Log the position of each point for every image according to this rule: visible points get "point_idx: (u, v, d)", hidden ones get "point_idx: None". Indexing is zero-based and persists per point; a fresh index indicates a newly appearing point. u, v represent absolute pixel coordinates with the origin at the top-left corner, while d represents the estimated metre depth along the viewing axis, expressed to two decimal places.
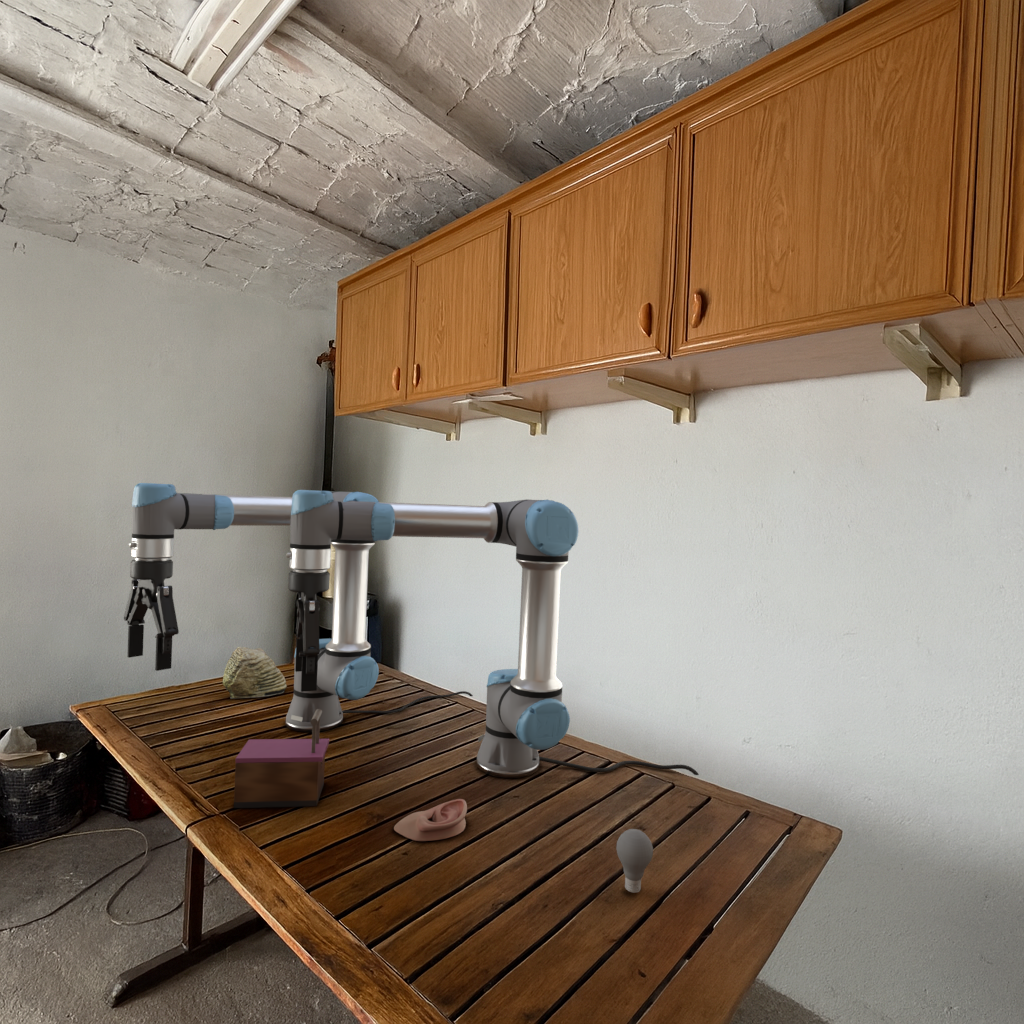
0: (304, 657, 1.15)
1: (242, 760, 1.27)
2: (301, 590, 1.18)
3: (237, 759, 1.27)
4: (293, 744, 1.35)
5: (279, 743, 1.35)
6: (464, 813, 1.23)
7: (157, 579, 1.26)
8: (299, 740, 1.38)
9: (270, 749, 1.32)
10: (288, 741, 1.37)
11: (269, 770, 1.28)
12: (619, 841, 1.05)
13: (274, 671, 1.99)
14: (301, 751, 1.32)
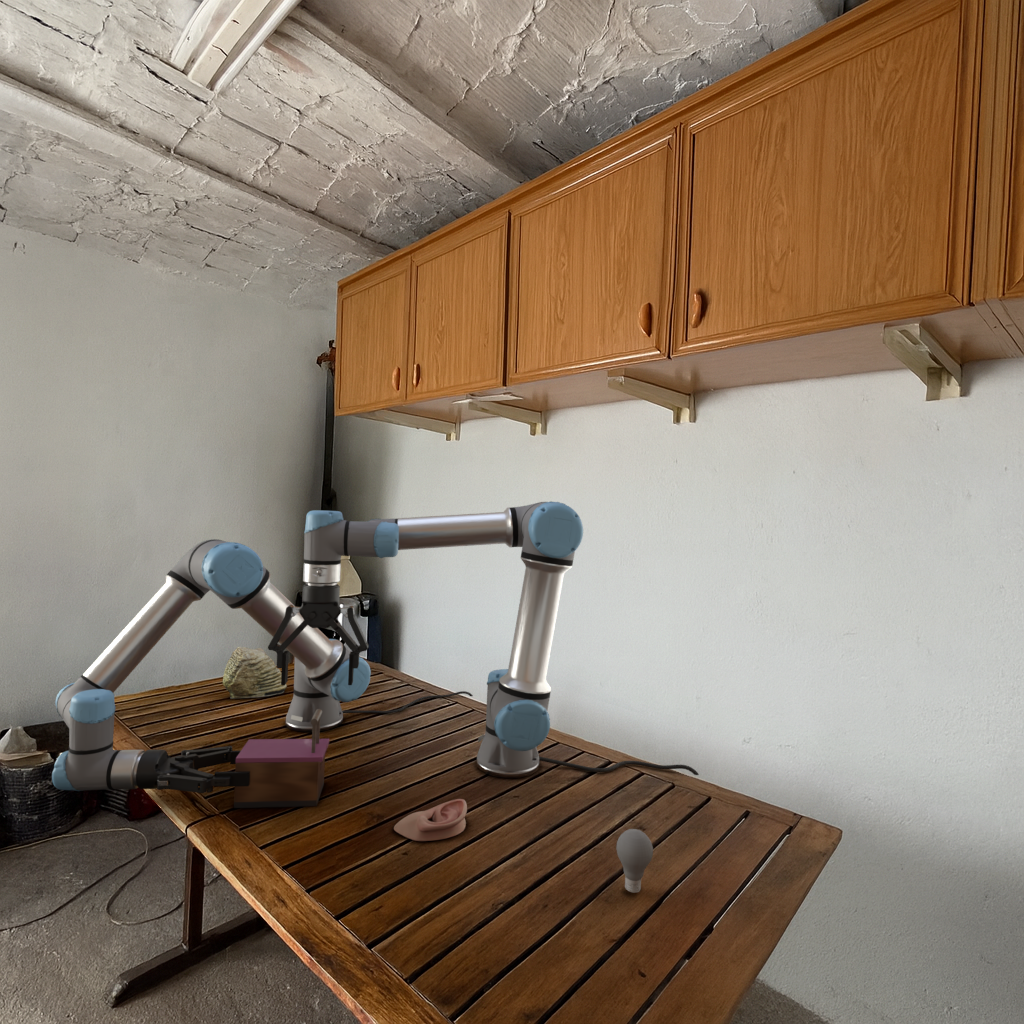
0: (353, 655, 1.34)
1: (242, 760, 1.27)
2: (336, 600, 1.33)
3: (237, 759, 1.27)
4: (293, 744, 1.35)
5: (279, 743, 1.35)
6: (464, 813, 1.23)
7: (154, 778, 1.26)
8: (299, 740, 1.38)
9: (270, 749, 1.32)
10: (288, 741, 1.37)
11: (269, 770, 1.28)
12: (619, 841, 1.05)
13: (274, 671, 1.99)
14: (301, 751, 1.32)
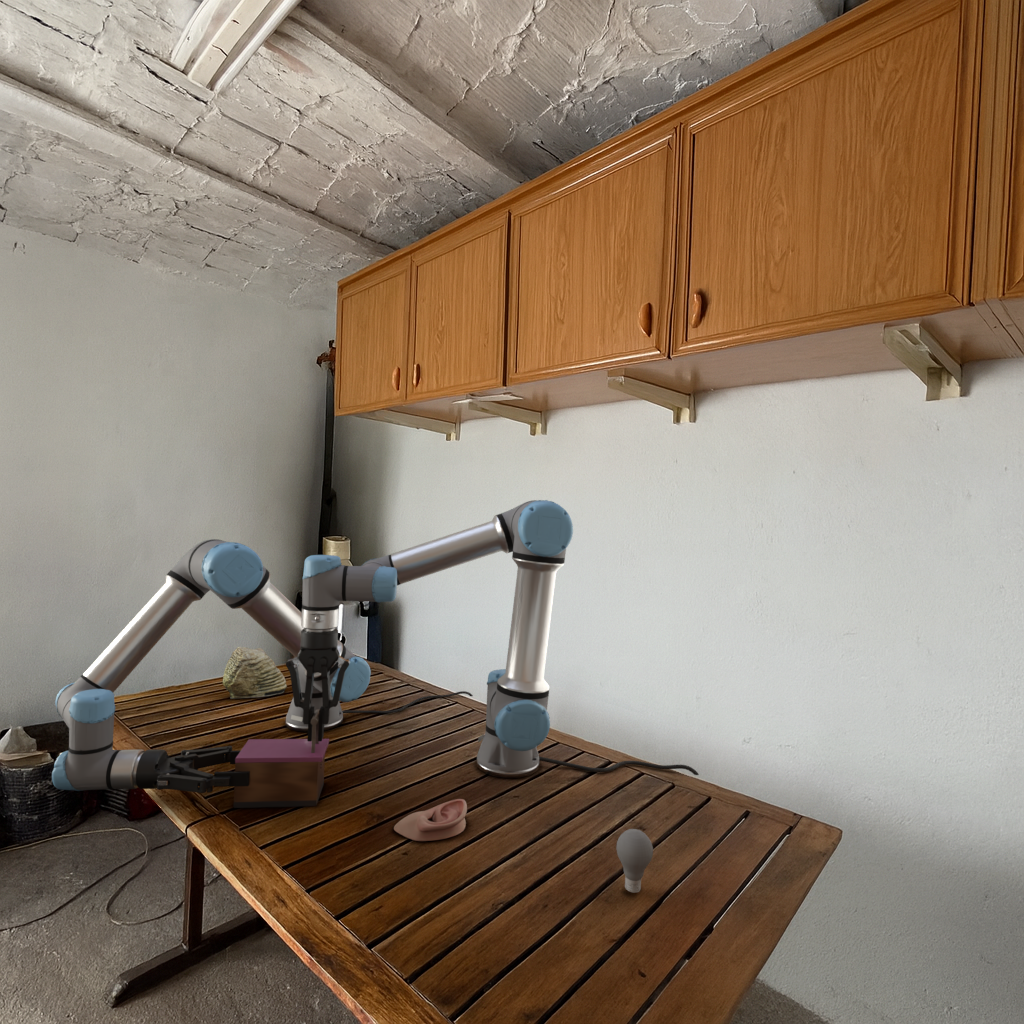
0: (322, 711, 1.33)
1: (242, 760, 1.27)
2: (334, 646, 1.33)
3: (237, 759, 1.27)
4: (293, 744, 1.35)
5: (279, 743, 1.35)
6: (464, 813, 1.23)
7: (154, 778, 1.26)
8: (299, 740, 1.38)
9: (270, 749, 1.32)
10: (288, 741, 1.37)
11: (269, 770, 1.28)
12: (619, 841, 1.05)
13: (274, 671, 1.99)
14: (301, 751, 1.32)
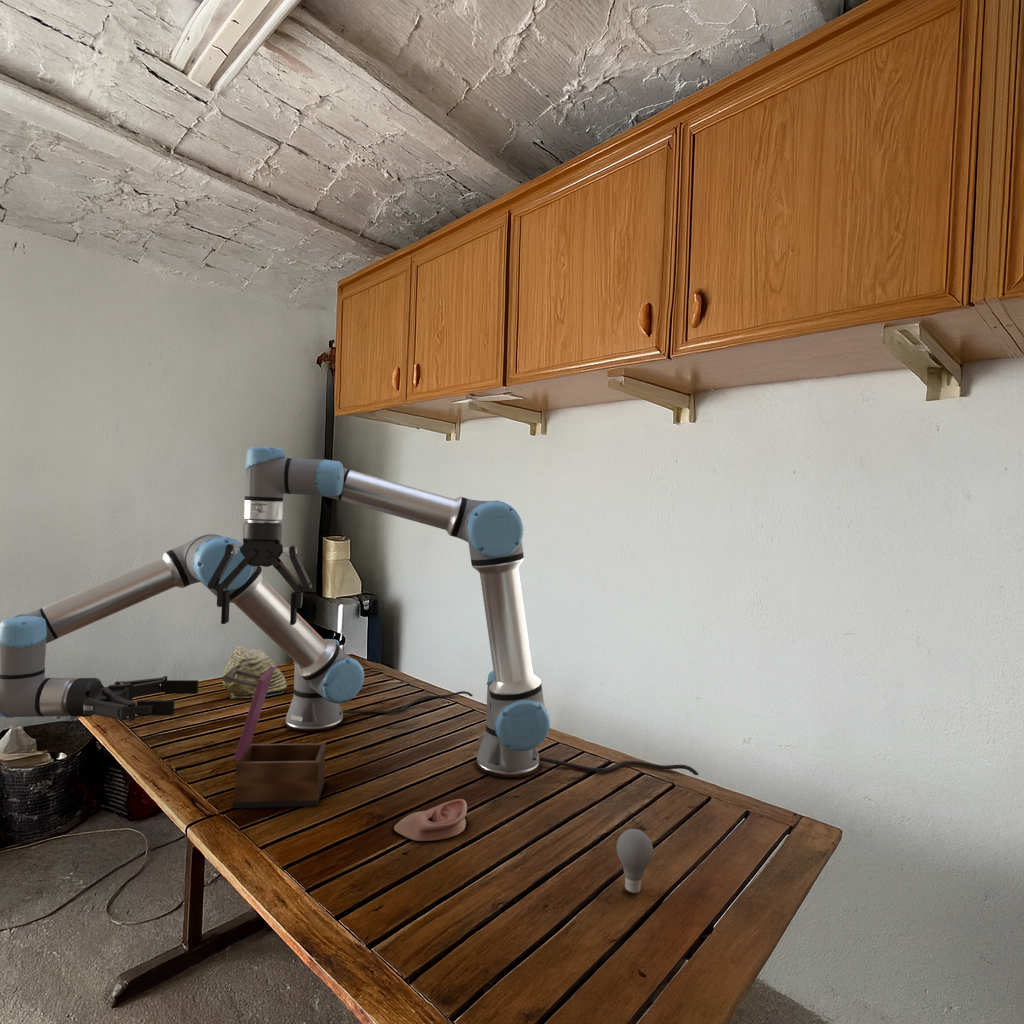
0: (295, 594, 1.32)
1: (237, 754, 1.27)
2: (277, 538, 1.31)
3: (235, 758, 1.27)
4: None
5: None
6: (464, 813, 1.23)
7: None
8: None
9: None
10: None
11: (269, 770, 1.28)
12: (619, 841, 1.05)
13: (274, 671, 1.99)
14: None
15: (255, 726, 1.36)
